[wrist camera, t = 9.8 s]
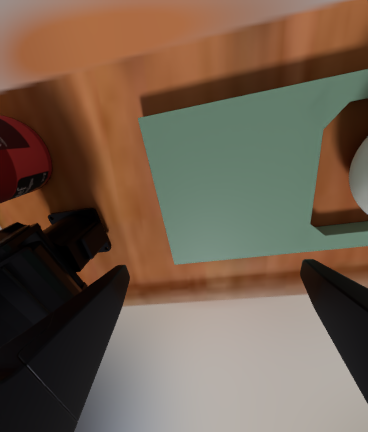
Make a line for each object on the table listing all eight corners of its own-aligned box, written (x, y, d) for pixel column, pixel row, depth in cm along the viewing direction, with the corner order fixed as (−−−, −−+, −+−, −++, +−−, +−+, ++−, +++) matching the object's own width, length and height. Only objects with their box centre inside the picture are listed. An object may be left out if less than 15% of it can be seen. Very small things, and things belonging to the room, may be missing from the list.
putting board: (176, 254, 25) (174, 264, 23) (143, 119, 18) (137, 118, 16) (431, 228, 21) (453, 237, 19) (519, 40, 14) (567, 26, 12)
